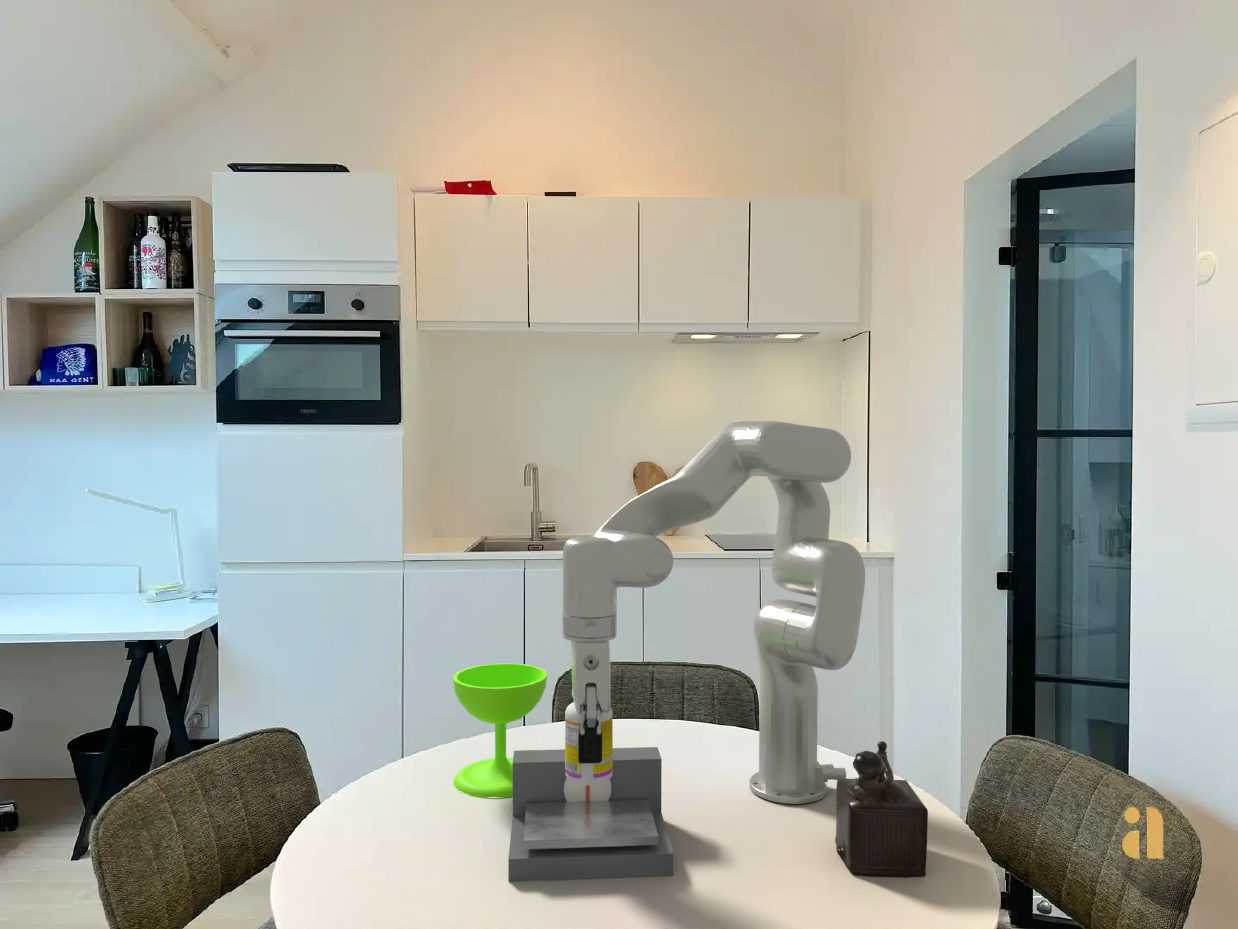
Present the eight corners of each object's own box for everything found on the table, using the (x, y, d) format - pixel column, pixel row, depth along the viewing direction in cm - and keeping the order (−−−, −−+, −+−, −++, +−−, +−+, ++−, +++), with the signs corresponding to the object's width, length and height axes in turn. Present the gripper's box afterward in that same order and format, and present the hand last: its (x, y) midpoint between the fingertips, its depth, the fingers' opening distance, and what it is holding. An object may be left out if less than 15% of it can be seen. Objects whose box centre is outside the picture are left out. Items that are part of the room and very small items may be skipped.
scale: (657, 817, 136) (657, 747, 136) (673, 875, 118) (673, 794, 118) (514, 822, 135) (513, 750, 134) (508, 881, 117) (508, 799, 116)
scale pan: (648, 807, 130) (648, 799, 130) (658, 844, 118) (658, 836, 118) (526, 811, 129) (526, 803, 129) (523, 849, 117) (523, 840, 117)
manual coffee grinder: (829, 840, 129) (830, 718, 128) (906, 842, 128) (907, 719, 128) (854, 896, 113) (855, 757, 113) (941, 898, 113) (943, 759, 112)
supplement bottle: (614, 770, 126) (615, 681, 126) (609, 788, 120) (610, 694, 119) (568, 768, 127) (569, 679, 127) (561, 786, 120) (561, 692, 120)
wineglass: (475, 806, 140) (475, 694, 140) (439, 773, 154) (438, 671, 153) (563, 785, 149) (563, 679, 148) (522, 756, 162) (522, 659, 162)
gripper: (621, 640, 114) (620, 776, 115) (612, 613, 132) (611, 731, 132) (563, 640, 114) (562, 777, 114) (561, 613, 131) (561, 732, 132)
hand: (588, 751), depth 123 cm, fingers closed on supplement bottle, 6 cm apart
